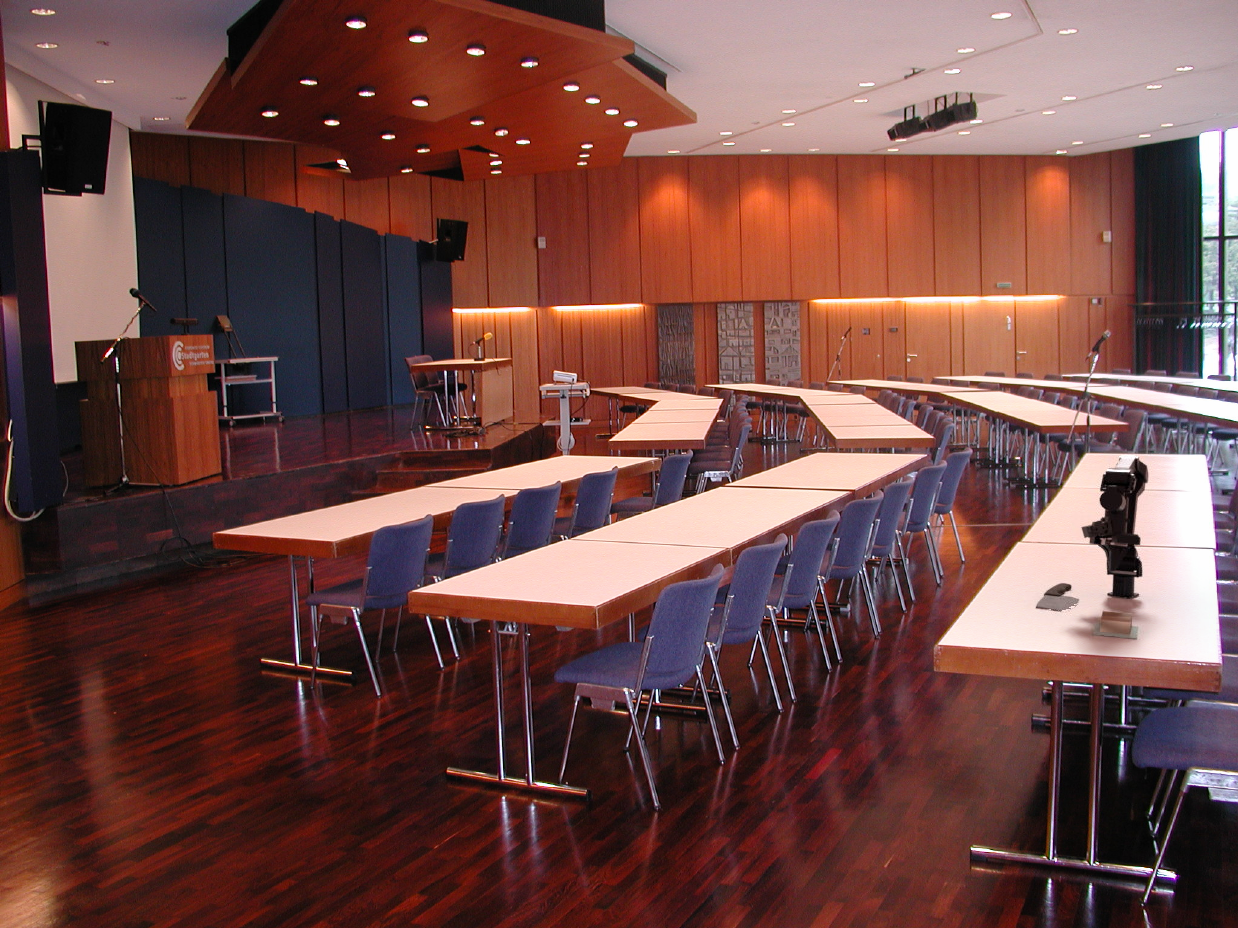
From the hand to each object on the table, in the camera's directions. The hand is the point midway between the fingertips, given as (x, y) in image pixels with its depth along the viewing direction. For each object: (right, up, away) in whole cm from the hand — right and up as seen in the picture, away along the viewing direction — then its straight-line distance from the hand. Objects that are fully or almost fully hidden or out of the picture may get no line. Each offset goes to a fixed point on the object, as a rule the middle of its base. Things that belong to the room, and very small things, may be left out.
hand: (1112, 570), depth 286 cm
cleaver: (-7, -11, +16) cm, 21 cm away
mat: (-7, -14, -18) cm, 24 cm away
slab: (-4, -11, -12) cm, 17 cm away
